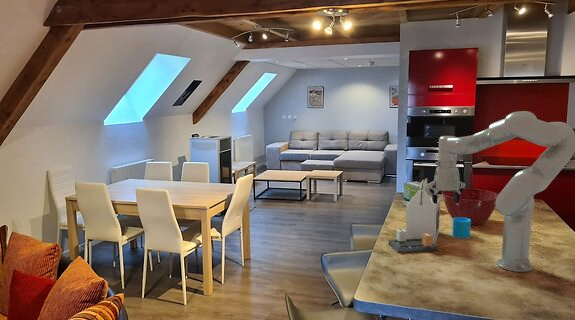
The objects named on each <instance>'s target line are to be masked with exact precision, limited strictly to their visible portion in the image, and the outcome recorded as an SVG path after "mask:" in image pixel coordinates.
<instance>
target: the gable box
mask: <svg viewBox="0 0 575 320" xmlns="http://www.w3.org/2000/svg"><path fill="white" fill-rule="evenodd" d="M429 183H430V182H429ZM429 183H428V178H427V177H425V178H424V179H422V180H421V182H420V184H419V185H418V186H419V188H420V189H419V190H418V191H417V193H416V194H415V195H414V196H413V197H412V199H411V200H410V202H409V203H408V204H407V206H405V207H406V209H405V213H406V214H405V231H406V239H422V234H425V233H429V234H430V235H432V236H433V238H432V243H434V244H435V245H436V242H437V239H438V236H439V233H440V219H441V218H440V216H441V214H440V213H441V198H440V196H439V195H438V193H437V194H436V195H437V196H438V197H437V204H435V203H433V201H432V193H431V192H430V191H429V189H428V187H427V184H429ZM431 188H432V189H434V186H433V187H432V186H431Z"/></svg>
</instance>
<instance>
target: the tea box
mask: <svg viewBox="0 0 575 320" xmlns="http://www.w3.org/2000/svg"><path fill="white" fill-rule="evenodd" d="M420 183H421V182H419V181H410V182H404V183H403V206H405V207H406V206H407V204H408V203H409V202H410V200H411V199H412V197H413V196H414V195H415V194H416V193H417V191H418V190H419V189H420V188H419V186H418V185H419V184H420ZM432 187H433V188H434V185H433V186H432Z"/></svg>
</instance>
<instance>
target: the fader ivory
mask: <svg viewBox="0 0 575 320" xmlns="http://www.w3.org/2000/svg"><path fill="white" fill-rule="evenodd" d="M395 231H396V232H395V233H396V235H395V236H396V237H395V240H398V241H399V242H401V241H406V230H405V229H402V228H397V229H396V230H395Z"/></svg>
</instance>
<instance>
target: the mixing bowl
mask: <svg viewBox="0 0 575 320" xmlns="http://www.w3.org/2000/svg"><path fill="white" fill-rule="evenodd" d="M454 193H455V191H441V194H442V197H443V201H444V205H445V207H446V210H447V212H448V214H449V216H450V217H451V218H452V219H453V218H456V217H463V218H468V219H470V220H471V226H475V225H476V226H477V225H482V223H485V222H486V221H488V220H489V218H490V217H491V215H492V214H493V212H494V210H495V209H496V198H497V196H498V195H499V193H496V192H495V191H494V192H493V191H491V190H490V191H489V190H485V189H479V188H469V187H468V188H466V187H465V188H464V190H463V191H462V192H461V194H460V198H459V203H456V202H454Z"/></svg>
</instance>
